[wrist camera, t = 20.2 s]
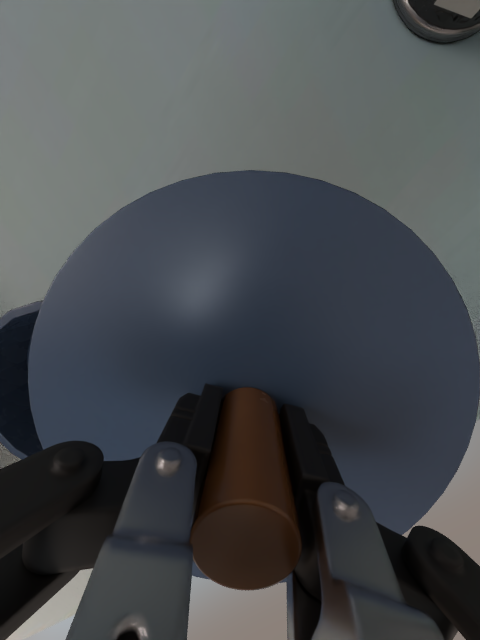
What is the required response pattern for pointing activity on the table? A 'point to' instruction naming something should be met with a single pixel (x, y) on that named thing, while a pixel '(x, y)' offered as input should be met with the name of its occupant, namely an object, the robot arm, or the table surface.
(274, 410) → the pan lid
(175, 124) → the table surface
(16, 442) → the pan
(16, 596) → the robot arm
